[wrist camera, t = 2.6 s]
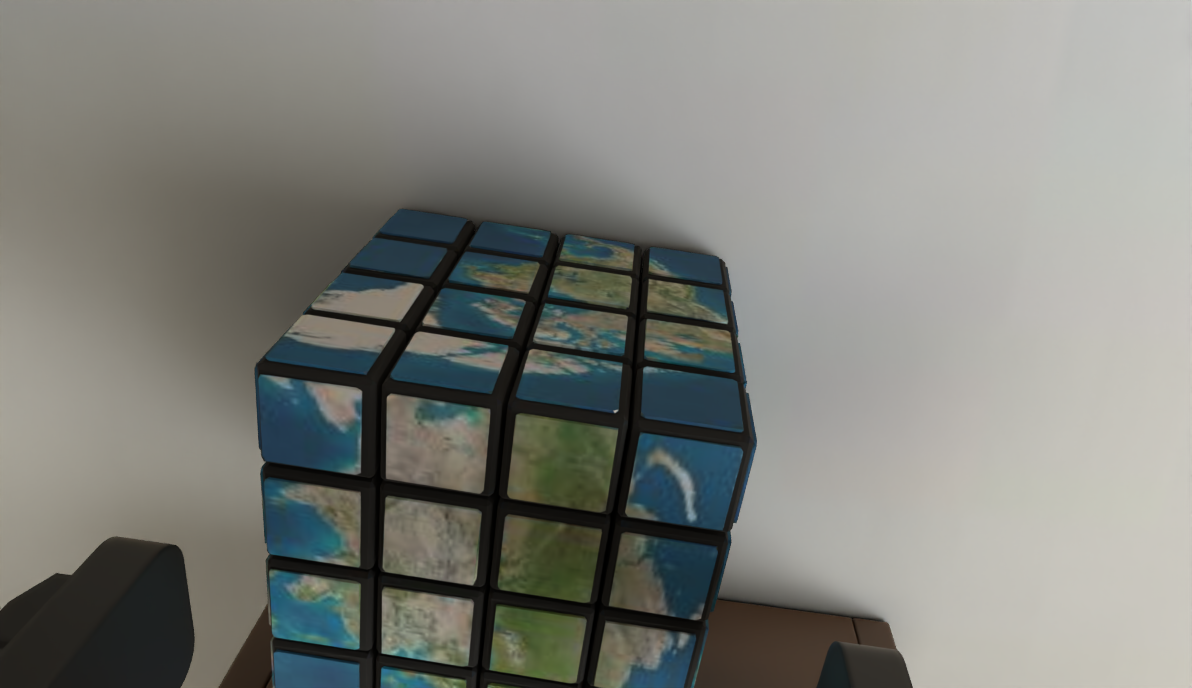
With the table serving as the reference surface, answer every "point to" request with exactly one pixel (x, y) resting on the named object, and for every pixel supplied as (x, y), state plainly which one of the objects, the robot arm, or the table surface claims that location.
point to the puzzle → (502, 463)
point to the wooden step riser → (730, 657)
